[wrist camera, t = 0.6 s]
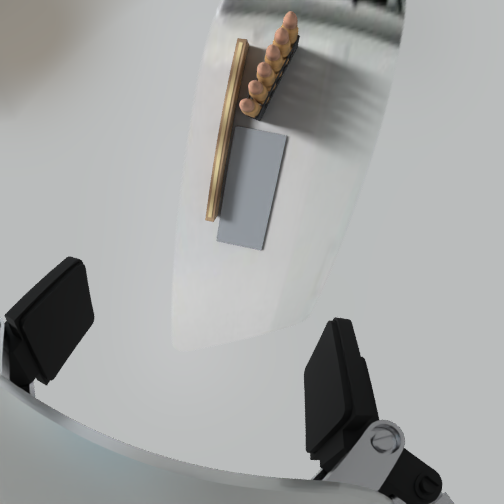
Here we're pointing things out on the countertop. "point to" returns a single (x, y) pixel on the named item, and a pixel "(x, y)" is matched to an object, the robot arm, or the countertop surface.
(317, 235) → the countertop surface
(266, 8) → the countertop surface
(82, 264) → the robot arm
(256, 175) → the flat gray rectangular panel
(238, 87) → the straightedge
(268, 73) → the ammunition clip
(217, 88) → the countertop surface
